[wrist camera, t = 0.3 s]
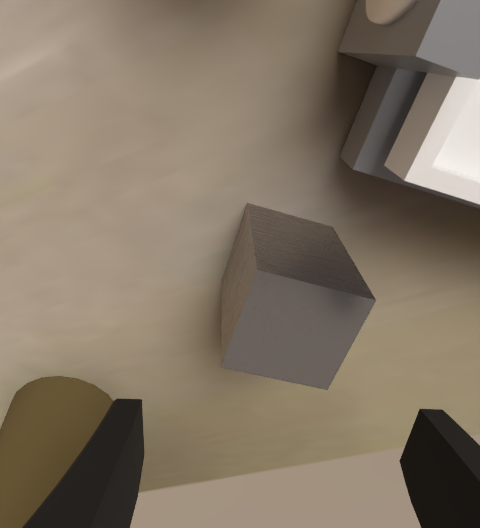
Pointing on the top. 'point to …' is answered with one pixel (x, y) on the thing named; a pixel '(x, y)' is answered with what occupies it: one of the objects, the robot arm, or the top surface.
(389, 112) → the kitchen scale
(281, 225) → the steel block
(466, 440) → the robot arm
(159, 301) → the top surface
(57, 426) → the cork
